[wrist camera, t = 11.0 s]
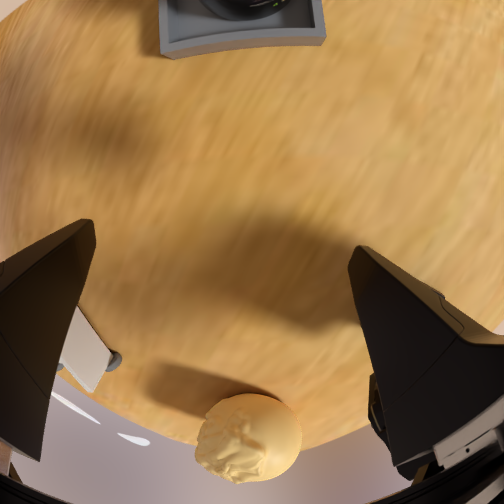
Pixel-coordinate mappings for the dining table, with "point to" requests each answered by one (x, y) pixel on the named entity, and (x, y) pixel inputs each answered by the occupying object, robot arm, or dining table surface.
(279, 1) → the supplement bottle
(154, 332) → the dining table surface
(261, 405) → the sculpture
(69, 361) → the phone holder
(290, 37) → the holder tray
